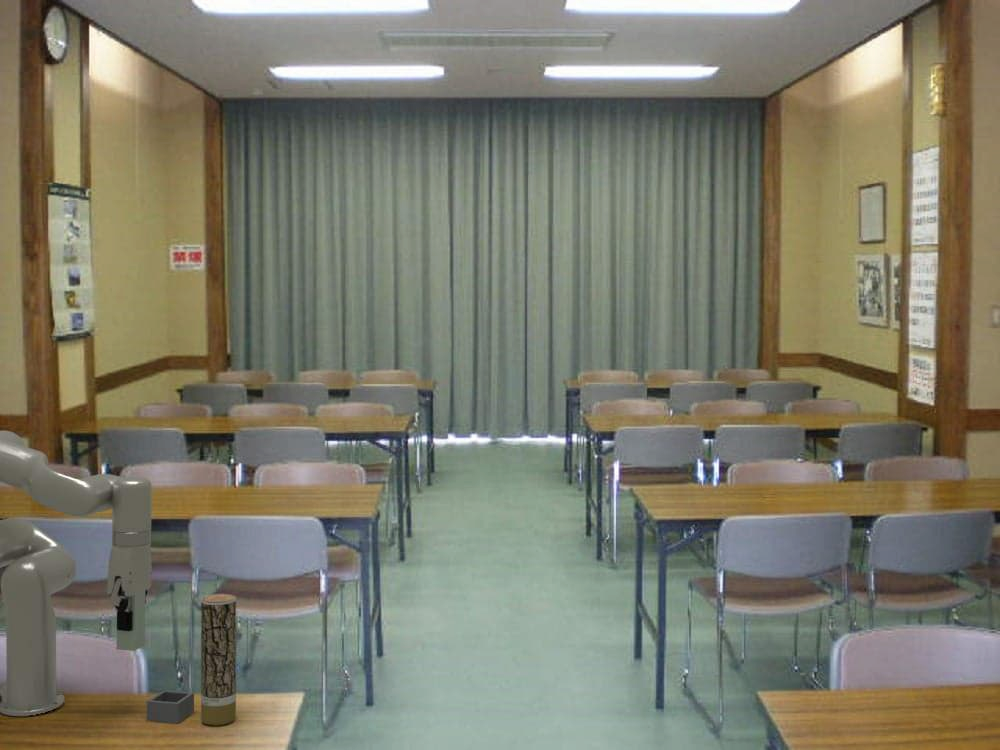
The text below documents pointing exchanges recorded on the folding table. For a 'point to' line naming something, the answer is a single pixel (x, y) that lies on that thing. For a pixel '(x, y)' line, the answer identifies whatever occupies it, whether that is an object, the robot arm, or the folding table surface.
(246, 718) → the folding table surface
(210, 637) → the bark log chew toy
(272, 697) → the folding table surface
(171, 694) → the socket block
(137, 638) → the peg
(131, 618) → the robot arm
